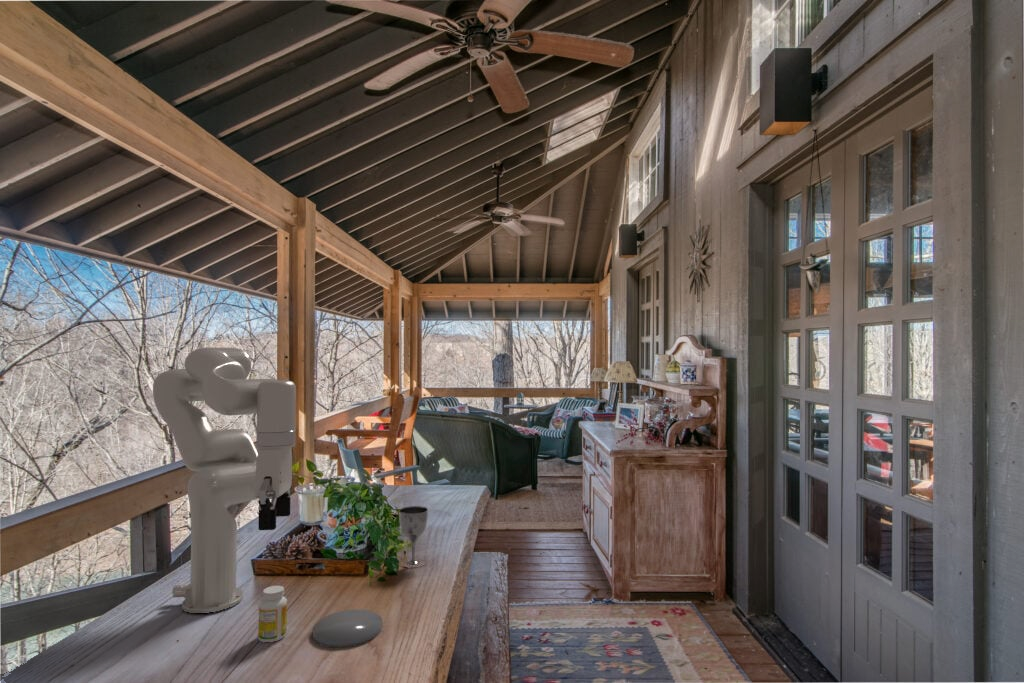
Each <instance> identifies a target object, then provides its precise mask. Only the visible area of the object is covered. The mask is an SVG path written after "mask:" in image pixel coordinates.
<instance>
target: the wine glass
mask: <svg viewBox="0 0 1024 683" xmlns="http://www.w3.org/2000/svg"><path fill="white" fill-rule="evenodd" d="M428 512H429V511H428V507H426V506H422V505H420V506H419V505H411V506H405V507H402V508H399V511H398V516H399V519H398V520H399V527H400V530H401V532H402V533H403V535H404V536H405V537H406V538H407V540H408V541H409V543H410V546H411V560H409V559H407V560H408V561H406V562H405V563H406V564H407V565H408V564H409V565H415V564H418V563H419V562H420V561H419V560H416V559H417V558H415V557H416V556H415V555H416V552H415V551H416V544H417V541H418V540H419V538H420V537H421V535H423V533H424V531H426V527H427V524H428V517H429V516H428V515H429V513H428Z"/></svg>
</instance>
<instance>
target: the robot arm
mask: <svg viewBox="0 0 1024 683" xmlns="http://www.w3.org/2000/svg"><path fill="white" fill-rule="evenodd" d="M251 370H252V360H251V358H250V356H249V354H248V352H246V351H245V350H243V349H241V348H239V347H238V348H237V347H200V348H196V349H194V350H193V351H191V352H190V353H188V354H187V356H186V358H185V360H184V368H177V369H176V368H175V369H170V370H166V371H163V372H161V373H160V374H158V375H157V376H156V377H155V379H154V381H153V384H152V394H153V395H152V398H153V402H154V405H155V408H156V410H157V412H158V413H159V415H160V416H161V418H162V419H163V421H164V422H165V423H166V425H167V426H168V427H169V429H170V431H171V433H172V436H173V438H174V441H175V444H176V446H177V449H178V452H179V453H180V457H181V459H182V461H183V464H184V465H185V467H186V468H187V469H188V470H189V471H191V472H192V471H193V472H195V473H194V474H192V475H191V477H190V478H189V480H188V482H187V488H186V489H187V497H188V503H189V510H190V525H191V526H190V527H191V528H190V530H191V534H190V535H191V537H190V538H191V540H190V541H191V542H190V573H189V574H190V576H189V577H190V582H189V583H188V584H187V585H185V584H184V585H183V584H181V585H180V584H178V585H174V586H173V588H172V597H173V598H184V600H183V601H182V603H181V609H182V611H183V610H184V611H183V612H185V613H187V612H189V613H188V614H190V613H207V612H213V611H218V612H220V611H219V610H222V611H224V610H223V609H225V610H228V609H230V608H232V607H234V606H236V605H238V604H239V603H240V602H241V601H242V600H243V599H244V592H243V591H244V590H242V589H240V588H239V587H237V560H238V559H237V556H238V555H237V554H238V553H237V551H238V550H237V549H238V522H237V521H236V519H235V517H234V516H233V515H232V514H231V513H230V512H229V510H228V507H230V506H233V505H236V504H237V505H238V504H242V503H247V502H248V503H249V502H252V501H255V500H258V501H257V503H258V506H257V507H258V528H257V529H258V530H259V531H273V530H276V528H277V517H278V518H279V517H289V516H290V515H291V488H292V483H293V455H292V454H293V452H292V447H296V442H297V441H296V438H297V434H296V432H297V430H296V428H297V426H296V425H297V424H296V423H297V421H296V418H297V416H296V415H297V414H296V413H297V386H296V384H295V383H294V381H292V380H278V379H276V378H274V379H273V378H248V377H249V375H250V373H251V372H252V371H251ZM191 402H204V403H205V404H206V406H208V407H209V408H210V409H211V410H213V411H215V412H216V413H217V414H220V415H223V416H242V415H243V416H244V415H253V414H255V415H256V439H255V440H256V443H254V440H253V439H252V437H251V435H250V434H249V433H248V432H247V431H245V430H242V429H239V428H237V429H235V428H233V429H221V430H220V429H215V428H214V427H213V425H212V424H211V421H210V418H209V416H208V415H207V414H206V412H204V411H203V410H201V409H200V408H199V407H198V406H195V405H194V404H191ZM255 444H256V445H255ZM229 607H230V608H229ZM227 608H228V609H227Z"/></svg>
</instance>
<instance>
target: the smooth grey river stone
mask: <svg viewBox="0 0 1024 683" xmlns="http://www.w3.org/2000/svg"><path fill="white" fill-rule="evenodd" d="M382 630H383V618H382V616H381V615H380V614H379V613H377V612H375V611H373V610H369V609H361V608H360V609H358V608H357V609H356V608H355V609H346V610H341V611H336V612H333V613H330V614H328V615H326V616H324V617H322V618H321V619H319V620H318V621H317V622H315V624H314V626H313V629H312V637H313V638H312V639H313V640H314V641H315V643H317V644H318V643H319V644H318V645H320V644H321V646H323V647H326V646H327V648H341V649H342V648H349V646H350V647H354V645H355V646H359V645H363V644H364V643H367V642H370V641H371V640H373V639H374V638H376V637H377V636H379V635H380V633H381V632H382Z"/></svg>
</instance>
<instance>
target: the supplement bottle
mask: <svg viewBox="0 0 1024 683" xmlns="http://www.w3.org/2000/svg"><path fill="white" fill-rule="evenodd" d="M284 595H285V588H284V586H282V585H271V586H268V587H266V588H264V589H263V590H262V600H261V601H260V602H259V605H258V631H257V632H258V633H257V635H258V637H257V638H258V641H259V642H261V641H262V643H264V642H270V643H275V642H278V641H280V640H281V639H283V638H284V637H285V636H286V634H287V622H288V621H287V619H288V618H287V617H288V616H287V615H288V614H287V613H288V600H287V598H286V596H284ZM274 641H275V642H274Z"/></svg>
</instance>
